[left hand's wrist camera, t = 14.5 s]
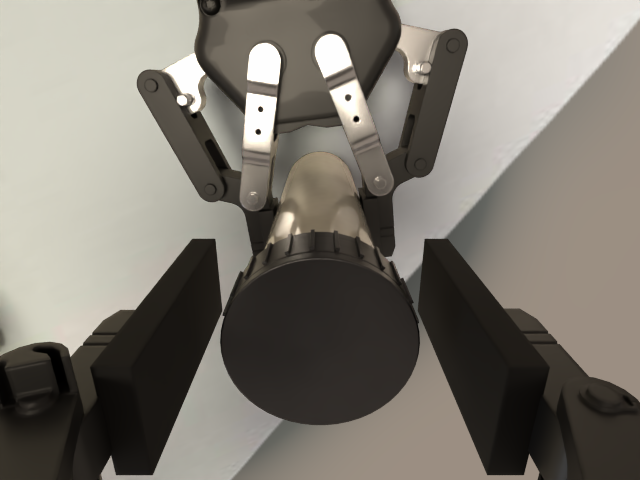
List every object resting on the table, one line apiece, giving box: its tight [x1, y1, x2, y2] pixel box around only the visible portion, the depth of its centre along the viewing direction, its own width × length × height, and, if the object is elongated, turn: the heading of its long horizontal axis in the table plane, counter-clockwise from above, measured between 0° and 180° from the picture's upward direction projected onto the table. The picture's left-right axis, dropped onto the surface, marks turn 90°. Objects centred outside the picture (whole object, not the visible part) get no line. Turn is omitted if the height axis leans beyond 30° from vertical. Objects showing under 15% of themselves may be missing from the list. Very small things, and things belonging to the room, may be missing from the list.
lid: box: [220, 229, 420, 425], centre depth 11 cm, size 5×5×2 cm
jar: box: [264, 152, 375, 249], centre depth 19 cm, size 4×4×16 cm
